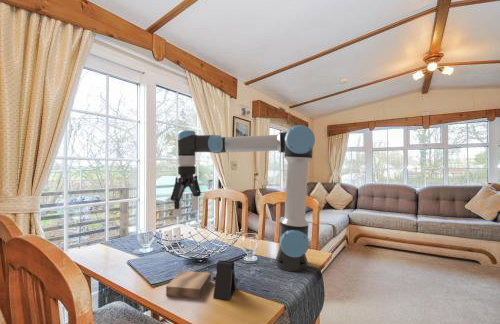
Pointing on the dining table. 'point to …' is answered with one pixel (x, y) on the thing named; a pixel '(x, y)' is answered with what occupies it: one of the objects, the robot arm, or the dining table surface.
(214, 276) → the loose bolt
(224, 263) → the phone stand
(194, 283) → the brown flat block
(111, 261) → the dining table surface
